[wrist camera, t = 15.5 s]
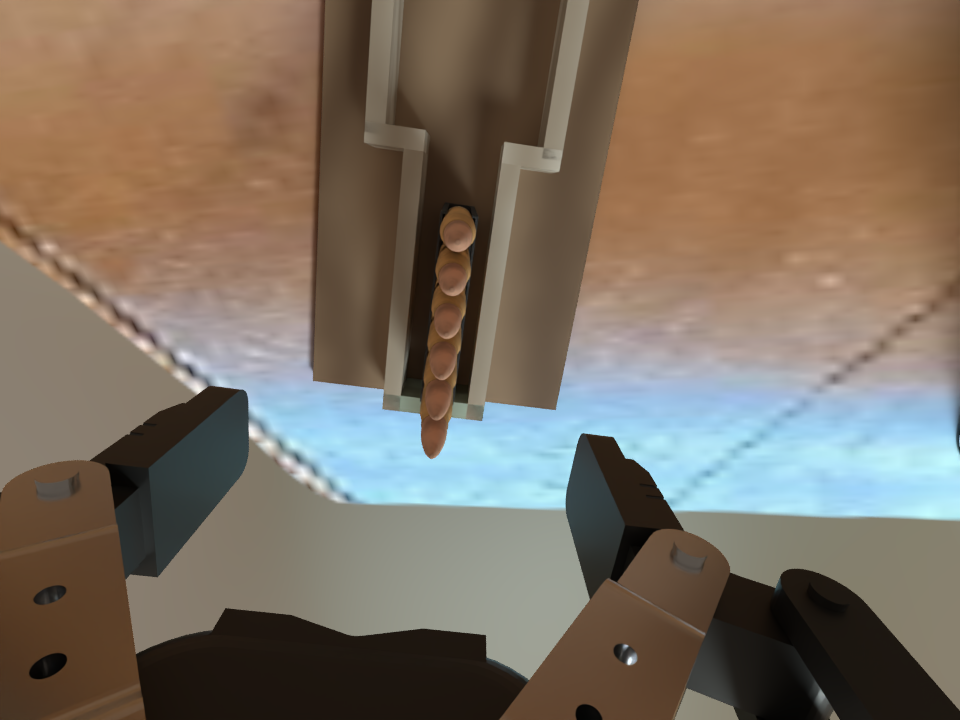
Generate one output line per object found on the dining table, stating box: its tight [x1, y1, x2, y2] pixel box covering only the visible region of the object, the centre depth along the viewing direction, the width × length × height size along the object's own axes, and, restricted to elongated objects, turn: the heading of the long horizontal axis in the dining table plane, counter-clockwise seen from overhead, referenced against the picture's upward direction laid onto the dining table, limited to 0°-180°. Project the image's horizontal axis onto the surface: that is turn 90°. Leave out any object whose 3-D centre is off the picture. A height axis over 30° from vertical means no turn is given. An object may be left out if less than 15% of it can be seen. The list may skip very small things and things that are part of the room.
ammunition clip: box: [420, 202, 478, 459], centre depth 25 cm, size 11×2×12 cm, turn 172°
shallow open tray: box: [313, 0, 639, 421], centre depth 27 cm, size 16×30×4 cm, turn 172°
